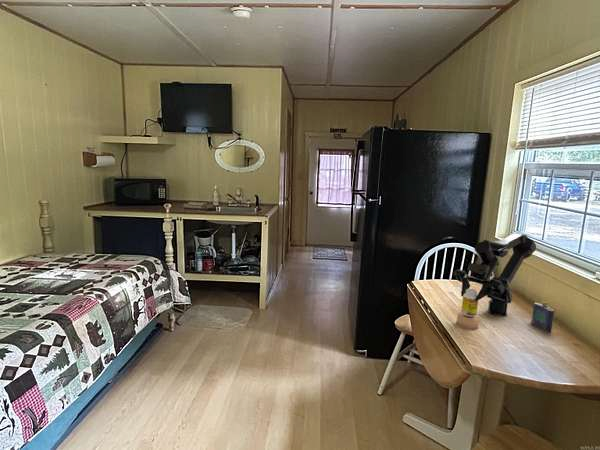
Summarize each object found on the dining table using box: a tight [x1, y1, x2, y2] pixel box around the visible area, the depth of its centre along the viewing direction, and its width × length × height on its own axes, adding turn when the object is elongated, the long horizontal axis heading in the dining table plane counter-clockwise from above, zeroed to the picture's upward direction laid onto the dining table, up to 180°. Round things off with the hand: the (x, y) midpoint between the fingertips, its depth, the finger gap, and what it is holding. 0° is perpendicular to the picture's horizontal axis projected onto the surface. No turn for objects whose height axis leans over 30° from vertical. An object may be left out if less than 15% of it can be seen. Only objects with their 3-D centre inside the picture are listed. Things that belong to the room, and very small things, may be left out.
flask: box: [530, 301, 555, 333], centre depth 145 cm, size 9×3×11 cm, turn 8°
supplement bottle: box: [460, 288, 479, 317], centre depth 144 cm, size 6×6×10 cm
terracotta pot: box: [456, 311, 480, 331], centre depth 146 cm, size 8×8×4 cm
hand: (468, 298), depth 143 cm, fingers open, 6 cm apart
